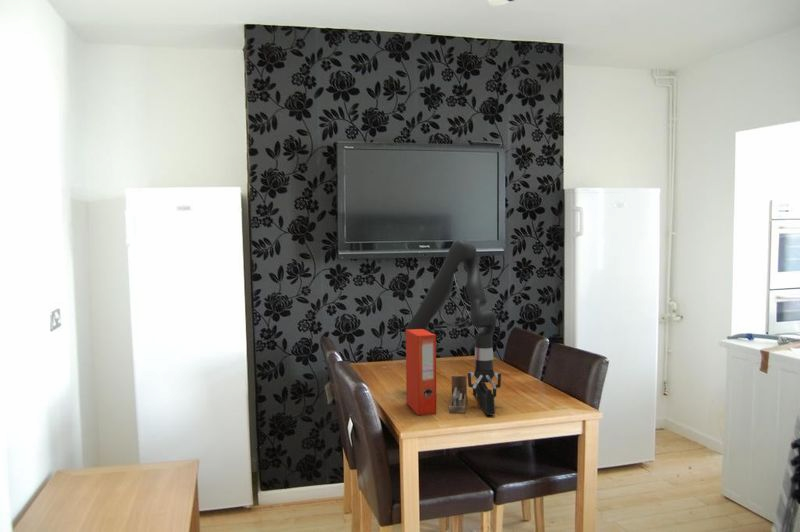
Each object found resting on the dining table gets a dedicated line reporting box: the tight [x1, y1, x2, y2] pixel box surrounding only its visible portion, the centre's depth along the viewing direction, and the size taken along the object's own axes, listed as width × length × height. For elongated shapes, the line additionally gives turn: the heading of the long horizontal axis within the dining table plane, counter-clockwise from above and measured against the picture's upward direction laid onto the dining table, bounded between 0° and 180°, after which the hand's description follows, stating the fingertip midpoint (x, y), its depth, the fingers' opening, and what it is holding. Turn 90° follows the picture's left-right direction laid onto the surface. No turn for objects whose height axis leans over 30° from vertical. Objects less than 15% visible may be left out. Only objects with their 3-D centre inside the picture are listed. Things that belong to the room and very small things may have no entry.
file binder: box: [405, 329, 437, 416], centre depth 236 cm, size 8×17×32 cm, turn 15°
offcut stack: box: [453, 388, 464, 407], centre depth 240 cm, size 3×14×6 cm, turn 172°
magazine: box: [476, 382, 496, 416], centre depth 237 cm, size 17×3×30 cm
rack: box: [448, 375, 468, 414], centre depth 240 cm, size 6×22×10 cm, turn 172°
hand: (484, 397), depth 238 cm, fingers open, 7 cm apart
